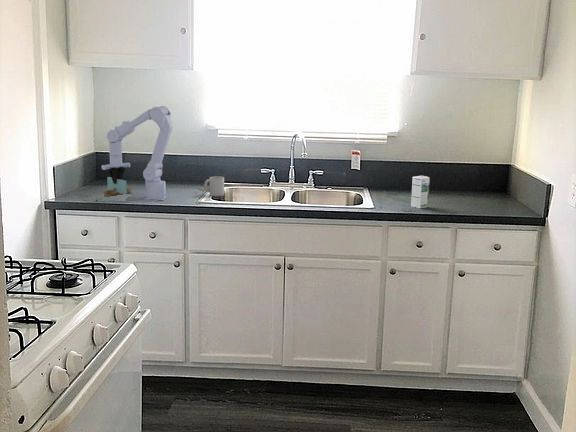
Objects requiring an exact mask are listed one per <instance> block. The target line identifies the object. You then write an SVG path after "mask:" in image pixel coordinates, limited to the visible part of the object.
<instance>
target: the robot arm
mask: <svg viewBox="0 0 576 432" xmlns="http://www.w3.org/2000/svg"><path fill="white" fill-rule="evenodd" d="M171 115H172V113H171V112H170V110H169V108H168V107H167V106H164V105H160V106H153V107H152V108H149V109H147V110H145V111H144V112H142V113H141V114H140V115H137V117H136V118H134V119H132V120H131V121H130V120H127V121H126V120H124V121H122V123H121V124H120V125H118V126H115V127H114V129H110V130H109V131H107V133H106V139H107V141H108V146H109V149H108V150H109V163H108V164H102V165H101V170H103V171H105V170H107V172H108V173H109V175H110V177H111V178H112V181H113V183H114V184H117V179H120V180H123V175H124V173H125V171H126V168H131V163H130V162H123V151H122V149H123V148H122V147H123V146H122V141H123V139H124V138H126V137H127V136H129V135H131V134H133V132H135V129H136V127H138V126H140V125H142V124H143V123H145V122H147V121H149V120H153V122H155V124H156V125H157V126H158V129H159V130H158V131H159V132H158V135H157V138H156V142H155V143H154V148H153V152H152V154H151V158H150V160H149V162H148V163H147V165H146V167H145V169H144V170H143V172H142V177H143V179H144V181H145V183H144V185H145V197H146V198H147V199H146V200H150V199H157V200H158V201H165V200H166V198H167V188H166V187H167V186H166V185H167V183H166V181H165V180H162V179H161V177H162V175H163V166H164V165H163V161H164V160H163V159H164V156H165V153H166V150H167V146H168V143H169V140H170V138H171V133H172V130H173V123H172V117H171Z"/></svg>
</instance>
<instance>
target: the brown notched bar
mask: <svg viewBox="0 0 576 432" xmlns="http://www.w3.org/2000/svg"><path fill="white" fill-rule="evenodd" d="M131 189H132V188H131V187H127V193H126V194H131V193H132V192H131ZM102 193H103V194H104V197H110V196H117V195H123V193H119V192H117V191H116V190H108V189H107V190H103V192H102Z"/></svg>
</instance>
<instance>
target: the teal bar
mask: <svg viewBox="0 0 576 432" xmlns="http://www.w3.org/2000/svg"><path fill="white" fill-rule="evenodd" d="M106 178H107V181H106V182H107V190H116V192H119V193H123V194H126V193H127V188H128V187H127V180H124V179H121V180H120V179H117V184H114V183H113V181H112V178H111V176H107V177H106Z"/></svg>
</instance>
